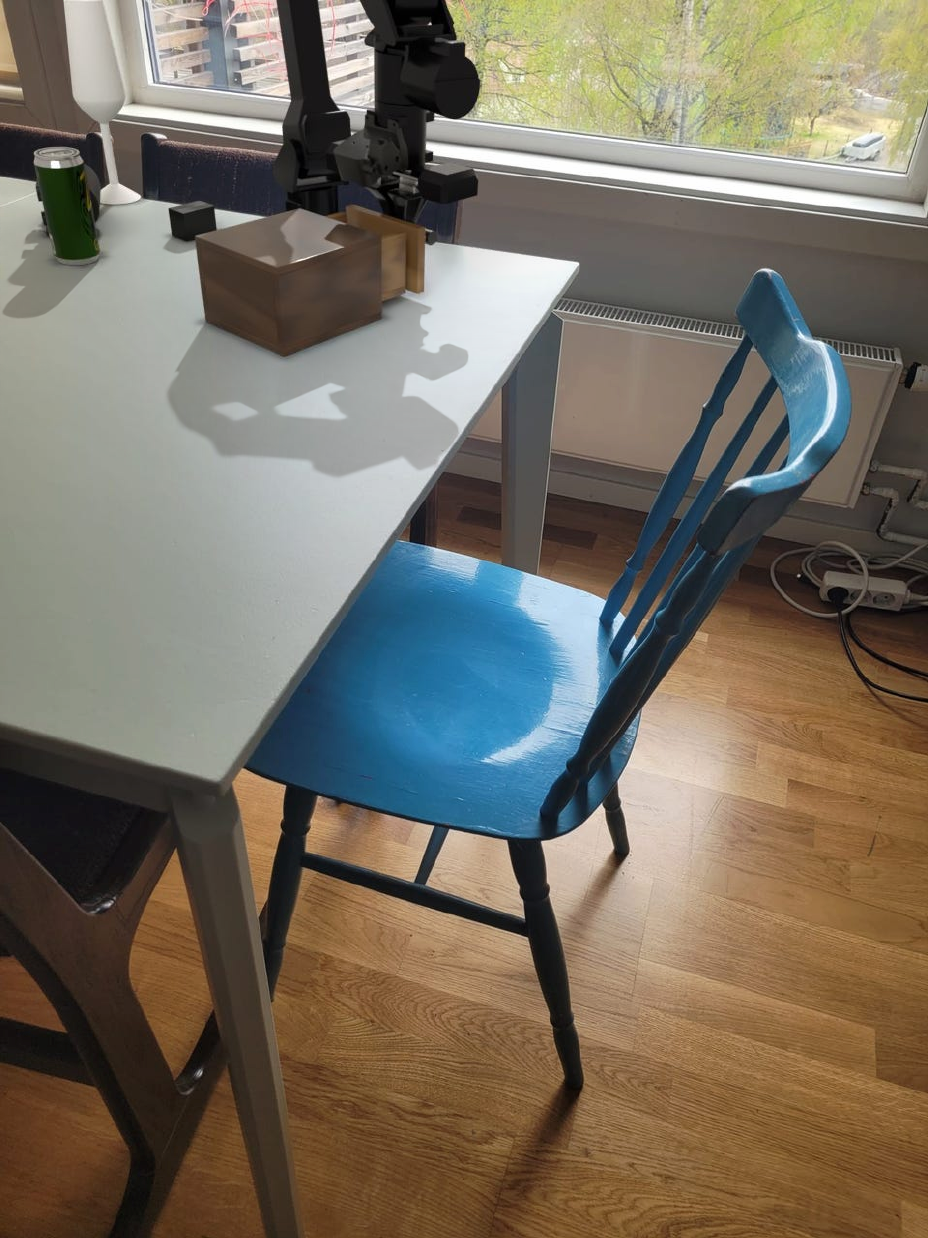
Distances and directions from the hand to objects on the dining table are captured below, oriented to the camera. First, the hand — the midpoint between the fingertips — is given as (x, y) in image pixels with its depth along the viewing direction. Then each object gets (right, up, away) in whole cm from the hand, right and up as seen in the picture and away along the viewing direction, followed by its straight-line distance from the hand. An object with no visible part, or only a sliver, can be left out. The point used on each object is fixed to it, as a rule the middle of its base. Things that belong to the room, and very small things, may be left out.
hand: (399, 246), depth 114 cm
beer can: (-39, 0, +4) cm, 40 cm away
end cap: (-43, +8, +13) cm, 46 cm away
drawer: (-4, -5, -2) cm, 7 cm away
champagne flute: (-42, +16, +23) cm, 50 cm away
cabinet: (-11, -11, -8) cm, 18 cm away
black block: (-28, +6, +12) cm, 31 cm away
